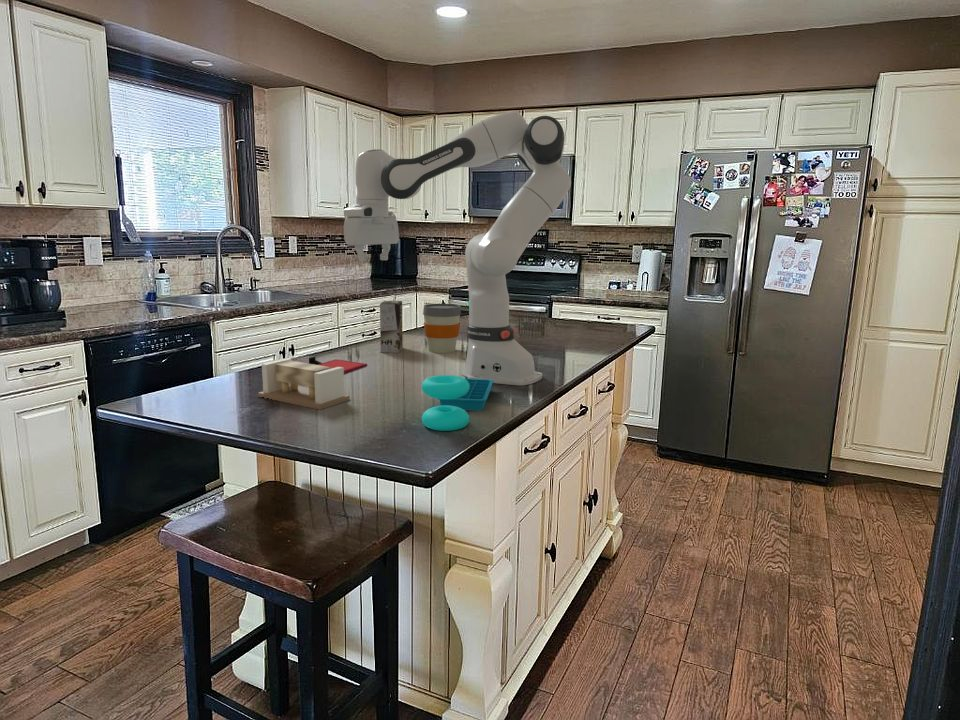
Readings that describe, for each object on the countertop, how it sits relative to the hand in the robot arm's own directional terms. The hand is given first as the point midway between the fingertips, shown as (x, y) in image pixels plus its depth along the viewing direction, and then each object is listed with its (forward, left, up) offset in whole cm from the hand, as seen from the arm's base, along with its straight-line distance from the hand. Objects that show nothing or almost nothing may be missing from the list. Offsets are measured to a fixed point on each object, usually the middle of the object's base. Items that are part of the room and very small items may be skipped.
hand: (373, 260), depth 181 cm
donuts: (-47, +35, -31) cm, 66 cm away
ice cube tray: (-40, +15, -32) cm, 53 cm away
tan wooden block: (-7, +36, -27) cm, 45 cm away
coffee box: (+12, -23, -31) cm, 41 cm away
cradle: (-7, +36, -31) cm, 48 cm away
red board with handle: (+9, +15, -32) cm, 36 cm away
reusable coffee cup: (-2, -32, -31) cm, 45 cm away
